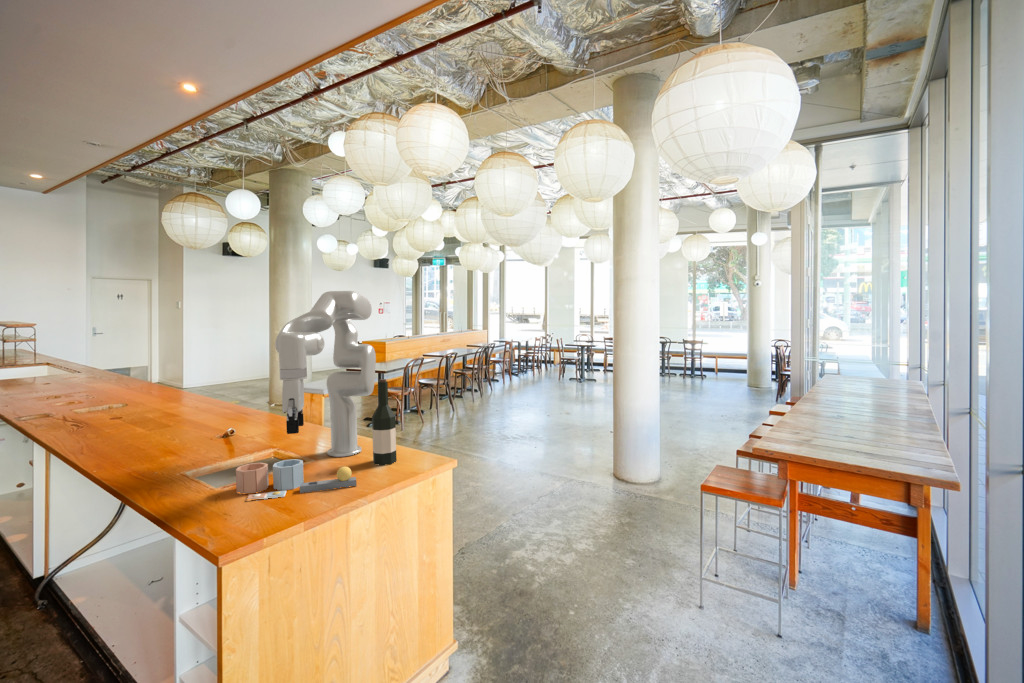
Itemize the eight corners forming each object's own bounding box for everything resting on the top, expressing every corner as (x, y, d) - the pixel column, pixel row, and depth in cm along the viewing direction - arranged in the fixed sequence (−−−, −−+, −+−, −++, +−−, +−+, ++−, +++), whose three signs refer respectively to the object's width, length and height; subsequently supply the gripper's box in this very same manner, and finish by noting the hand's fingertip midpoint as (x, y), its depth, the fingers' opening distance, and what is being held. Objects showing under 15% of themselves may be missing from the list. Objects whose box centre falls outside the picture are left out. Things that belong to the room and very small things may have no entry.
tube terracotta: (240, 486, 145) (239, 464, 145) (270, 483, 148) (269, 461, 147) (234, 496, 137) (233, 472, 137) (265, 492, 140) (264, 469, 140)
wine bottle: (368, 462, 168) (366, 379, 167) (388, 457, 175) (386, 377, 173) (380, 467, 163) (378, 381, 161) (401, 461, 169) (399, 379, 167)
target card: (249, 496, 137) (248, 493, 137) (286, 491, 140) (286, 489, 140) (245, 501, 133) (245, 499, 133) (284, 497, 136) (284, 494, 136)
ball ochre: (337, 479, 146) (336, 465, 146) (351, 477, 147) (351, 464, 147) (336, 484, 142) (336, 469, 141) (351, 482, 143) (351, 468, 143)
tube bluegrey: (276, 482, 148) (275, 461, 148) (304, 479, 151) (303, 458, 151) (272, 491, 141) (271, 468, 140) (301, 488, 143) (301, 465, 143)
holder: (301, 489, 142) (300, 483, 142) (356, 483, 147) (356, 476, 147) (300, 493, 139) (299, 486, 139) (356, 486, 144) (356, 479, 144)
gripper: (285, 371, 149) (287, 424, 150) (274, 378, 132) (276, 437, 133) (310, 370, 151) (312, 422, 152) (302, 377, 134) (304, 435, 135)
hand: (295, 429), depth 143 cm, fingers open, 9 cm apart
